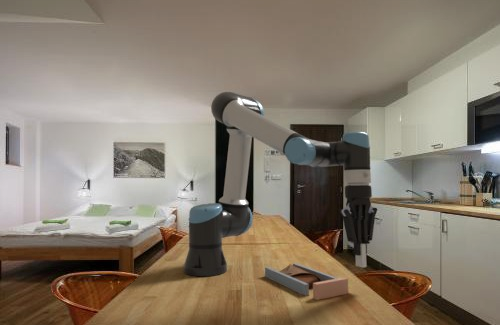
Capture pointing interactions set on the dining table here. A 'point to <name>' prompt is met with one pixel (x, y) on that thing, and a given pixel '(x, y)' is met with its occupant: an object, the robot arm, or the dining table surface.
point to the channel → (295, 283)
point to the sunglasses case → (301, 275)
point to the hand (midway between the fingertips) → (361, 266)
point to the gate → (330, 288)
